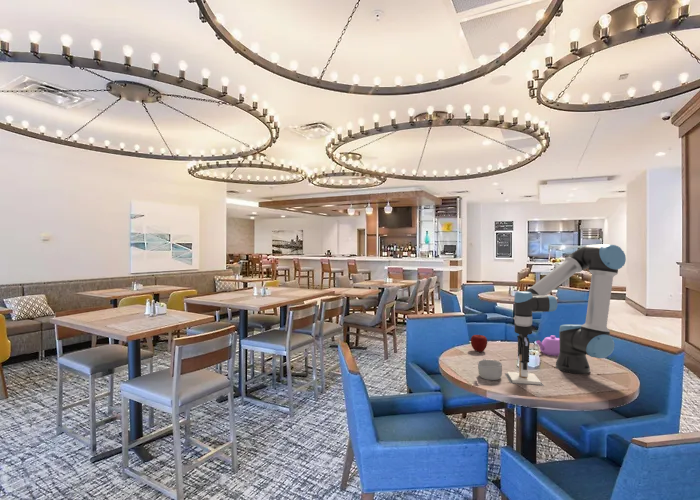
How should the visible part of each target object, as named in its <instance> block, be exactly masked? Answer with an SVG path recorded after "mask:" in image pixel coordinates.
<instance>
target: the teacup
mask: <svg viewBox="0 0 700 500" xmlns="http://www.w3.org/2000/svg"><path fill="white" fill-rule="evenodd" d="M502 366H503V364H502V362H500V361H498V360H493V359H486V358H483V359H482V360H478V362H477V368H478V369H477V370H478V374H479V377H480V378H482V379H483V380H486V381H498V380H500V379H501V378H502V376H503V367H502Z"/></svg>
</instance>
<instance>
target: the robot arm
mask: <svg viewBox="0 0 700 500" xmlns="http://www.w3.org/2000/svg"><path fill="white" fill-rule="evenodd" d="M626 261H627V258H626V253H625V251H624V250H623V249H622V248H621V246H618V245H616V244H609V243H607V244H606V243H605V244H587V245H584V246H581V247H580V248H578V249H576V250H575V251H573V252H572V253H570V254H569V255H568V256H566V257H565V258H564V261H563V262H562V263H561V264H558V266H557V267H555V268H554V269H552V270H551V271H550V272H549V273H547V274H546V275H545V276H543V277H542V278H541V279H539V280H538V281H537V282H535V284H533V285H531V286H530V287H529V288H528V289H526V290H525V291H516V292H515V293H514V300H513V302H514V303H513V305H514V317H513V318H512V319H513V320H514V333H515V334H518V335H517V336H516V337H517V357H519V354H522V361H520V362H521V376H523V377H528V373H529V368H528V366H529V363H530V344H531V342H530V338H529V337H528V336H529V335H532V334H533V326H532V325H533V313H538V312H540V313H546V312H547V313H550V312H555V311H556V310H557V308H558V300H557V298H556V297H555V296H553V295H549V294H551V292H552V291H554V290H555V289H557V288H558V287H559V286H560V285H561V284H564V282H565V281H567V280H568V279H569V278H571V277H572V276H573V275H575V274H578V273H581V272H582V271H584V270H586V269H588V272H589V273H590V274H591V278H590V287H589V293H588V299H587V300H588V302H587V309H586V315H585V322H584V323H583V324H561V325H560V326H559V330H558V333H559V337H558V338H559V342H560V353H559V356H557V358H556V361H555V368H556V369H557V370H560V371H561V372H565V373H570V374H575V375H576V374H577V375H578V374H579V375H585V374H589V373H590V372H591V368H590V367H591V366H590V364H589V361H588V358H587V356H589V357H591V358H596V359H605V358H607V357H609V356H611V354H613V352H614V349H615V341H614V339H613V338H612V337H611V330H610V329H609V328H608V318H609V311H610V304H611V297H612V289H613V282H614V280H613V279H614V277H616V276H617V275H618V273H619V270H620V269H621V268H623V267H624V266H625V264H626Z"/></svg>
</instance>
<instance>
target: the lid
mask: <svg viewBox="0 0 700 500" xmlns="http://www.w3.org/2000/svg"><path fill="white" fill-rule="evenodd" d="M518 361H519V362H518V372H516V371H507V372H506V373H507V375H508V376H509V378H510V380H511V381H512V383H511V384H513V383H525V384H524V385H527V384H538V385H537V386H540V385H541V383H542V382H541V380H540V379H539V378H538V376H537V375H536V374H535V373H531V372H528V377H523V376H521V362H520V361H522V354H519V356H518Z"/></svg>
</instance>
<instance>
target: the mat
mask: <svg viewBox="0 0 700 500" xmlns="http://www.w3.org/2000/svg"><path fill="white" fill-rule="evenodd" d="M504 376H506V378H507V380H508V382H509V383H510V384H515V385H527V386H529V385H530V386H541V387H542V386H543V387H544V386H545V385H544V383H543V382H541V385H538V384H525V383H512V381H511V380H510V378H509V376H508V375H507V372H506V373H504Z"/></svg>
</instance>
